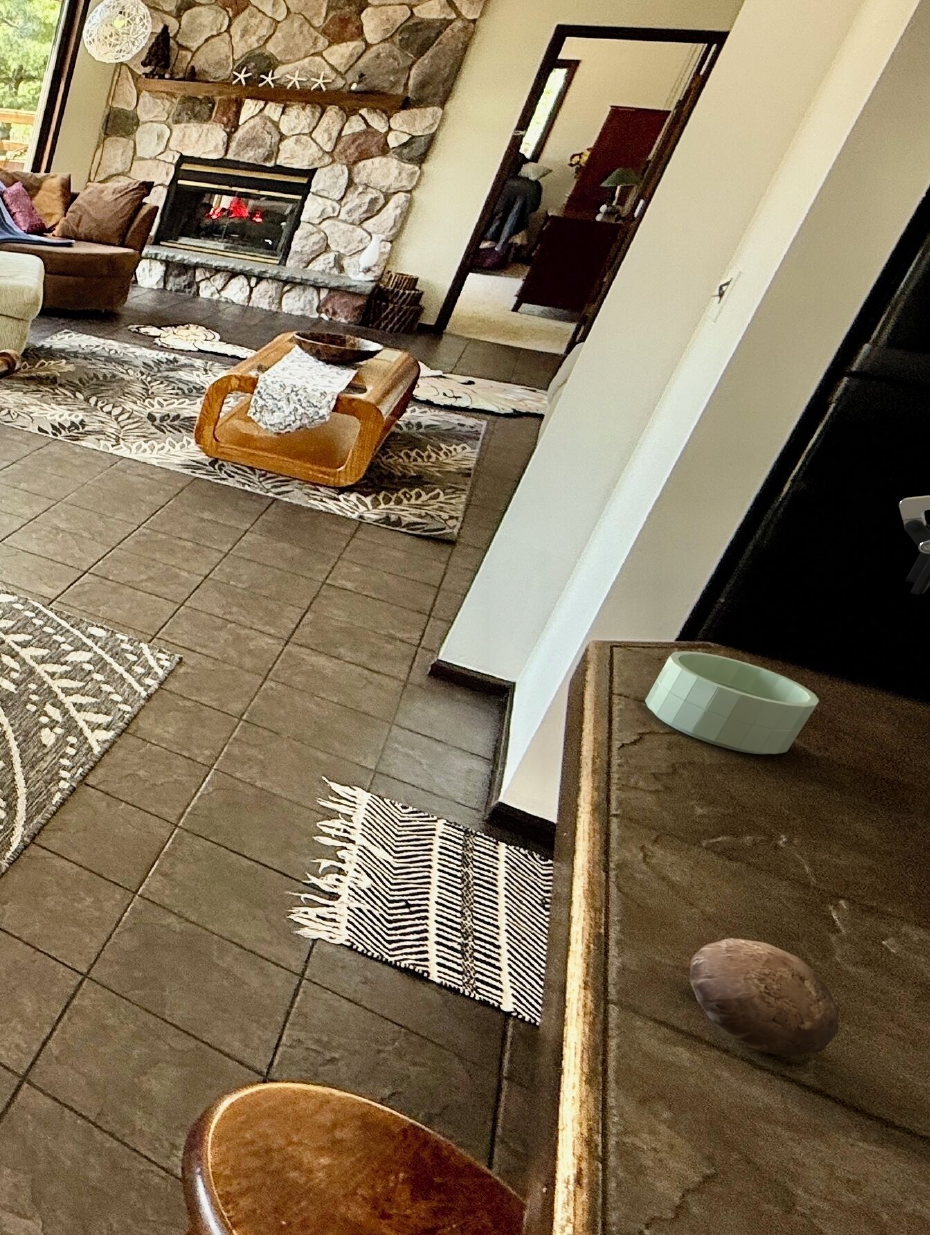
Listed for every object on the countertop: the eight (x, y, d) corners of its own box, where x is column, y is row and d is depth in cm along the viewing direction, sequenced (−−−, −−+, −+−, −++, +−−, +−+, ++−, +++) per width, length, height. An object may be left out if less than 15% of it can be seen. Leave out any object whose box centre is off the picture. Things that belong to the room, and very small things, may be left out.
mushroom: (669, 920, 78) (752, 905, 73) (783, 999, 76) (878, 990, 70) (636, 1003, 76) (720, 994, 70) (754, 1088, 73) (850, 1085, 68)
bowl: (713, 704, 119) (741, 655, 117) (817, 762, 109) (851, 710, 106) (615, 696, 119) (642, 647, 116) (711, 754, 109) (742, 701, 106)
